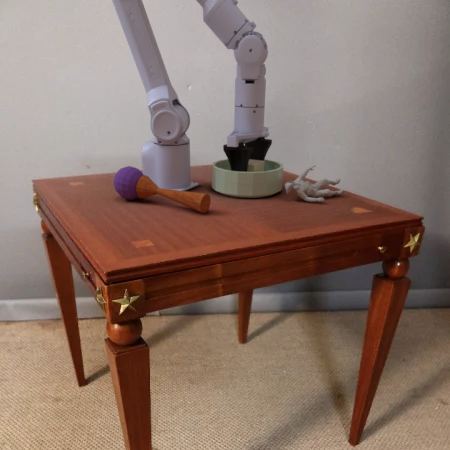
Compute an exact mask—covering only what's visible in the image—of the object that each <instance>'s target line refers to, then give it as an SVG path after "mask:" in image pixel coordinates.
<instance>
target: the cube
mask: <svg viewBox="0 0 450 450" xmlns="http://www.w3.org/2000/svg"><path fill="white" fill-rule="evenodd" d="M264 166H265V161H261V160H252V159H249V162H248V167H247V172H261V171H264Z"/></svg>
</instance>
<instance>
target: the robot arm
mask: <svg viewBox="0 0 450 450" xmlns="http://www.w3.org/2000/svg"><path fill="white" fill-rule="evenodd" d="M111 1H112V4H113V7H114V9H115V12H116V14H117V15H116V16H117V17H118V20H119V22H120V25H121V28H122V31H123V33H124V36H125V39H126V42H127V44H128V47H129V50H130V52H131V55H132V58H133V60H134V63H135V65H136V69H137V71H138V74H139V77H140V80H141V82H142V84H143V87H144V90H145V93H146V101H147V102H146V104H147V109H148V111H149V115H150V122H149V127H150V130H151V133H152V135H153V136H154V138H152V140H147V141H146V142H145V143H144V145H143V146H142V150H141V155H140V156H141V170H142V171H141V172H142V173H143V175H146V176H148V177H149V178H150V179H151V180H152V181H153V182H154V183H155V184H156V185H157V186H158V187H159V188H163V189H171V190H179V191H189V190H191V189H194V188H196V187H199V186H200V183H199V182H195V181H194V182H193V181H192V176H191V172H192V171H191V139H190V138H189V137H188V136H187V131H188V130H189V128H190V125H191V117H190V113H189V111H188V110H187V108H186V107H185V105H183V104H182V103H181V101H180V100H179V96H178V93H177V92H176V90H175V88H174V87H173V85H172V83H171V80H170V76H169V74H168V72H167V69H166V66H165V65H166V64H165V62H164V60H163V57H162V54H161V51H160V49H159V46H158V42H157V39H156V36H155V33H154V31H153V28H152V25H151V22H150V19H149V16H148V14H147V11H146V8H145V5H144V3H143V0H111ZM195 1H196V2H197V3H198V4H199V6H200V7H202V20H203V22H204V23H205V25H206V26H207V27H208V28H209V30H211V32H212V33H213V34H214V35H215V37H216V38H217V39H218V40H219V41H220V43H222V44H223V45H224V47H226V49H227V50H232V51H233V57H234V59H235V61H236V77H235V79H234V116H233V117H234V119H233V130H232V132H231V133H230V134H227V135H226V143H225V144H223V146H222V149H223V152H224V154H225V156H226V159H228V161H229V164H230V167H231V171H239V172H247V167H248V162H249V159H252V160H261V161H264V159H266V157H267V155H268V154H267V153H268V151H269V149H270V148H271V146H272V144H273V140H272V139H271V138H268V137H269V136H270V131H269V126H265V108H266V107H265V106H266V87H267V79H266V77H265V76H266V73H267V68H266V67H267V66H266V64H265V62H266V60H267V58H268V54H269V50H268V44H267V41H266V40H265V38H264V36H263V34H262V33H260V32H259V31H255V29H256V28H257V24H256V23H255V22H254V20H251V21H250V20H249V19H248V17H247V16H246V15H245V13H243V11H242V10H241V9H240V8H239V7H238V4H239V1H238V0H195Z"/></svg>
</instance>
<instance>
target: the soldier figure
mask: <svg viewBox="0 0 450 450" xmlns="http://www.w3.org/2000/svg"><path fill="white" fill-rule="evenodd" d="M315 167H316V165H311V166H309V167H308V168H306V169H305V170H304V171H303V172H302V173H301V174H300V175H299V176H298V177H297V178H295V179H294V180H288V181H285V182H284V188H285V192H286V194H287V195H288V194H289V193H290V192H291V191H292V190H294V192H295V193H296V195H297V196H298V197H299V198H301V199H302V200H303V201H304V202H309V203H316V202H318V203H321V202H324V201H325V198H324V197H327V196H328V197H332V196H334V195H335V196H340V195H341V196H342V194H343V193H344V189H339V190H331V189H330V188H326V189H322V188H323V187H324V186H330V185H332V186H336V185H339V184H340V182H341V178H340V177H338V178H337V179H336V180H335V179H334V180H329V179H327V178H322V179H319V181H316V182H314V183H311V182H310V181H309V180H304V179H305V178H306V177H307V176H308V173H309V172H310V171H314V168H315Z"/></svg>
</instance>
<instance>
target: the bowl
mask: <svg viewBox="0 0 450 450" xmlns="http://www.w3.org/2000/svg"><path fill="white" fill-rule="evenodd" d="M264 161H265V166H264V171H261V172H239V171H231V167H230V164H229V161H228V158H225V159H224V158H223V159H219V160H216V161H213V162H212V164H211V188H212V190H214V191H215V192H218V193H219V194H222V195H223V196H227V197H232V198H233V197H234V198H244V199H245V198H246V199H255V198H256V199H257V198H265V197H270V196H273V195H275V194H277V193H279V192H281V191H282V190H283V180H284V179H283V178H284V164H283V163H281V162H280V161H276V160H272V159H266V158H265V159H264Z"/></svg>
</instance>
